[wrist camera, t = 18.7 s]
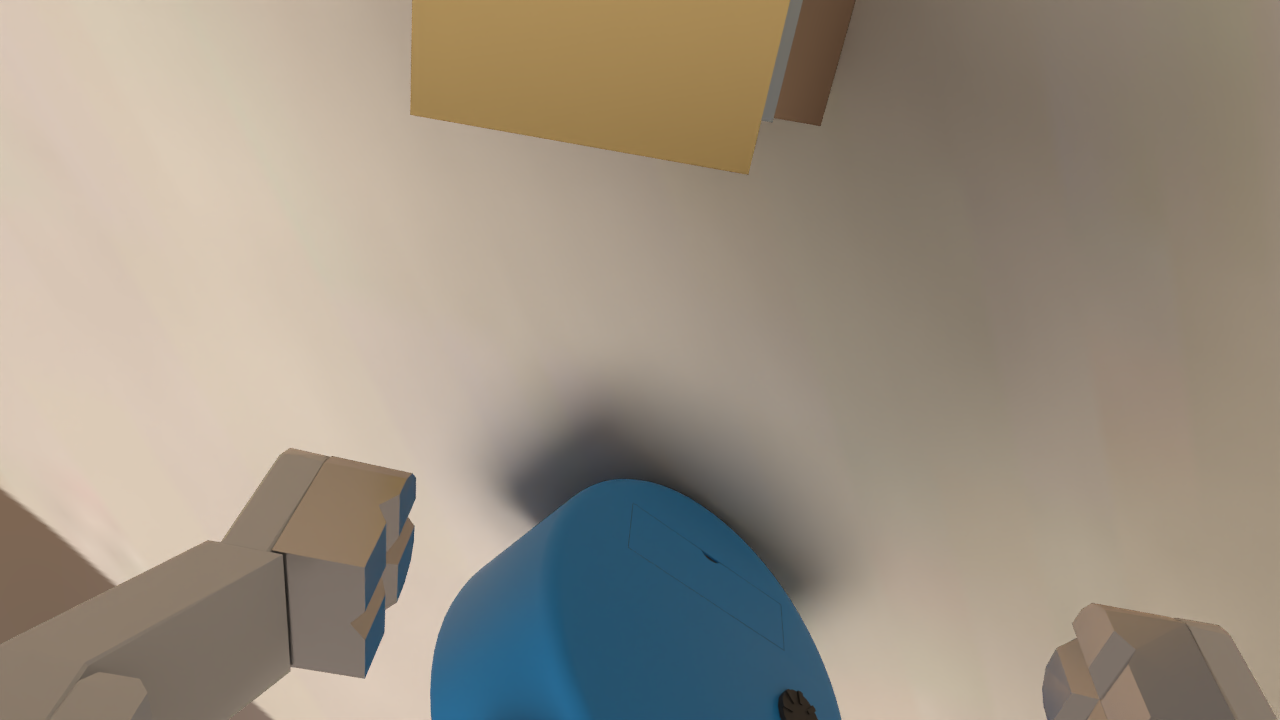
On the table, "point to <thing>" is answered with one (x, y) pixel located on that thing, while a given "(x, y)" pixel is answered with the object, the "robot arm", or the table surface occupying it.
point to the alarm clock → (627, 622)
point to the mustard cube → (603, 72)
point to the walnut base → (813, 60)
